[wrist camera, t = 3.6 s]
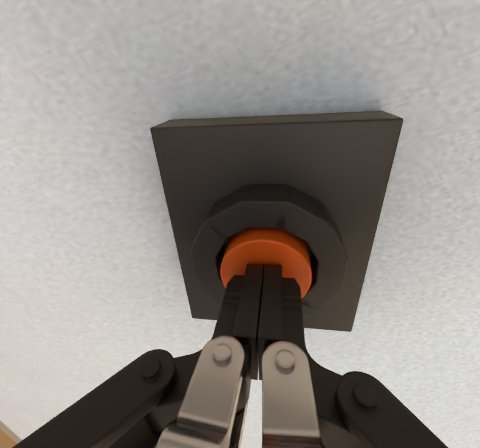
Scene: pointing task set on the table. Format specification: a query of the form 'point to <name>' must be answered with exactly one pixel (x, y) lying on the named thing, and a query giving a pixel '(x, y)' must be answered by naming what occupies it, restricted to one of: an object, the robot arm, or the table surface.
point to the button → (268, 254)
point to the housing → (279, 198)
